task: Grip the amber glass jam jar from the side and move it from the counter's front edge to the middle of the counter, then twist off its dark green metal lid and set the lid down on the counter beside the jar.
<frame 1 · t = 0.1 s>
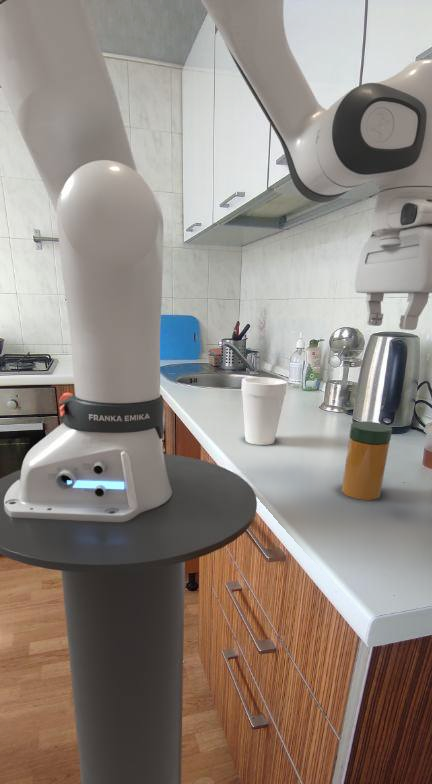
hand: (389, 327, 67), 26 cm above the countertop, tool pointing down, fingers open, 8 cm apart
lid: (371, 428, 72), point 11 cm above the countertop, screwed on, not yet turned
foam cup: (259, 441, 102), on the countertop
jar: (360, 492, 76), on the countertop
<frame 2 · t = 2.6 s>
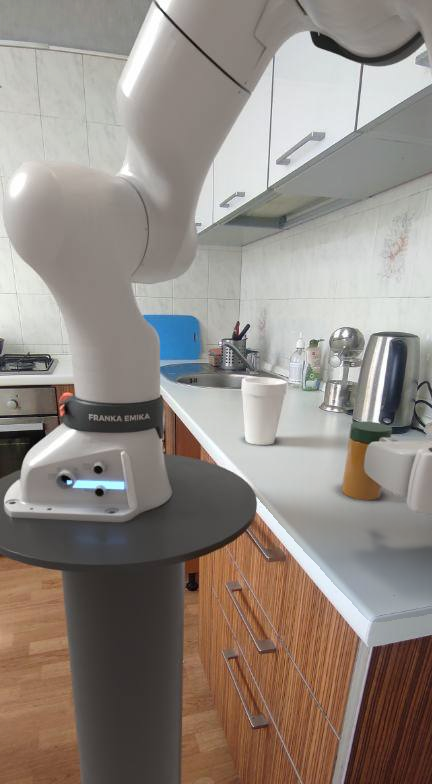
hand: (417, 442, 60), 12 cm above the countertop, tool horizontal, fingers open, 8 cm apart
nothing on the countertop moved.
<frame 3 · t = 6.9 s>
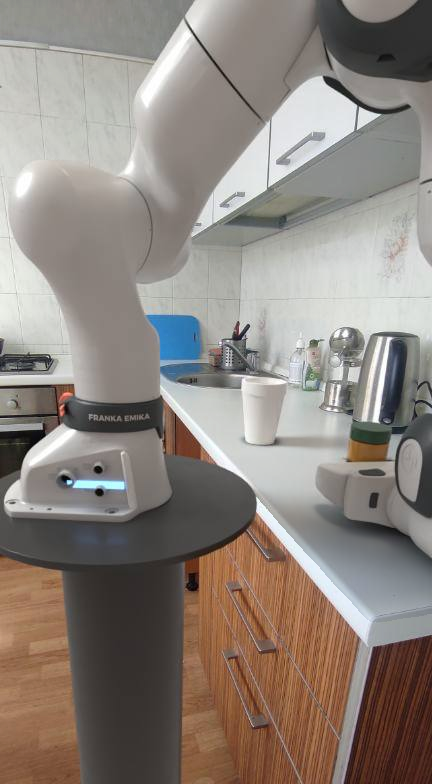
hand: (362, 461, 75), 5 cm above the countertop, tool horizontal, fingers closed on jar, 6 cm apart
jar: (360, 492, 76), on the countertop, touching gripper
everything else where it was.
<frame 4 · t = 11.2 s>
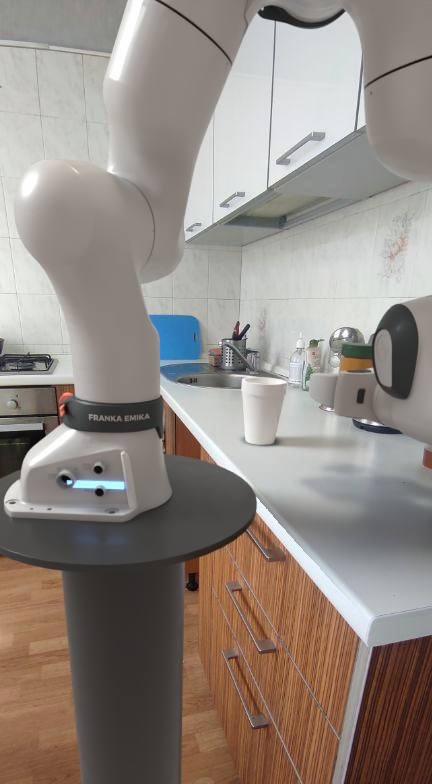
hand: (353, 380, 81), 16 cm above the countertop, tool horizontal, fingers closed on jar, 6 cm apart
lid: (360, 346, 78), point 22 cm above the countertop, screwed on, not yet turned
jar: (351, 409, 82), point 11 cm above the countertop, touching gripper
everything else where it was.
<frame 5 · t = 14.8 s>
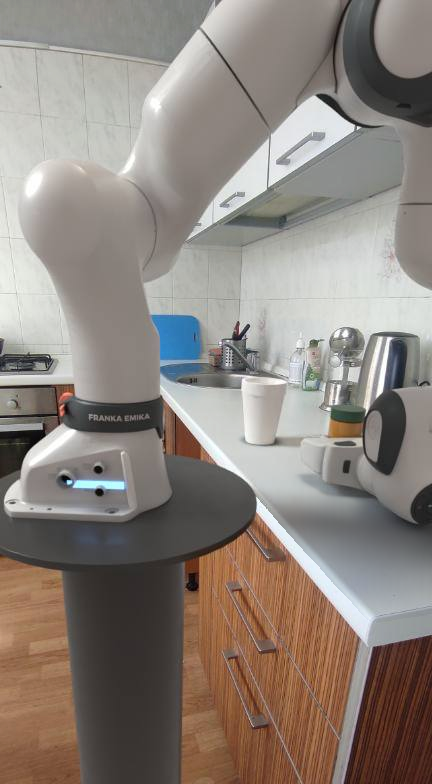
hand: (341, 439, 87), 5 cm above the countertop, tool horizontal, fingers closed on jar, 6 cm apart
lid: (348, 410, 84), point 11 cm above the countertop, screwed on, not yet turned
jar: (340, 466, 88), on the countertop, touching gripper
everything else where it was.
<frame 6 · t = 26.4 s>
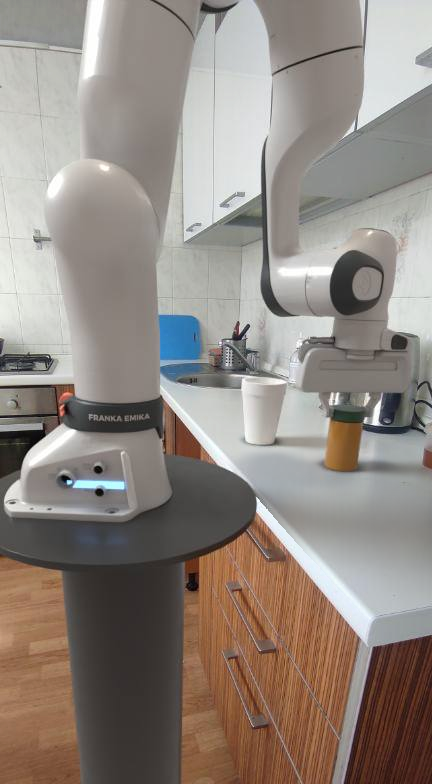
hand: (347, 416, 85), 9 cm above the countertop, tool pointing down, fingers closed on lid, 6 cm apart
lid: (348, 410, 84), point 11 cm above the countertop, screwed on, not yet turned, touching gripper
jar: (340, 465, 88), on the countertop
everything else where it was.
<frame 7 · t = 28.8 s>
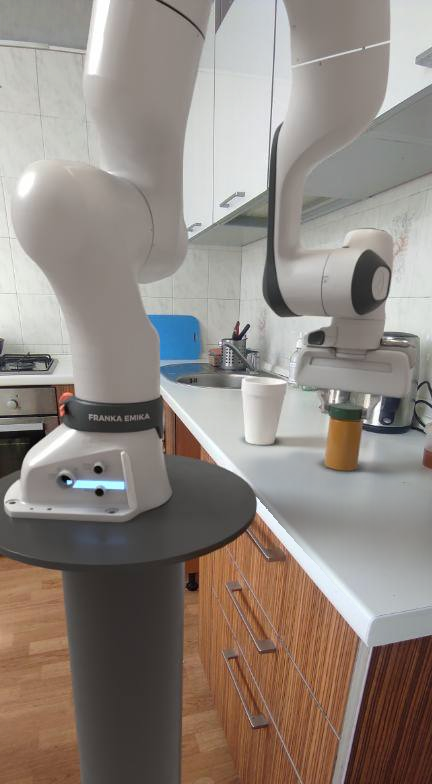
hand: (345, 416, 85), 9 cm above the countertop, tool pointing down, fingers closed on lid, 6 cm apart
lid: (346, 408, 84), point 11 cm above the countertop, off its thread, touching gripper
everything else where it was.
when the fingers open (0 cm above the countertop, at t = 35.7 s): lid stays where it is, point 1 cm above the countertop.
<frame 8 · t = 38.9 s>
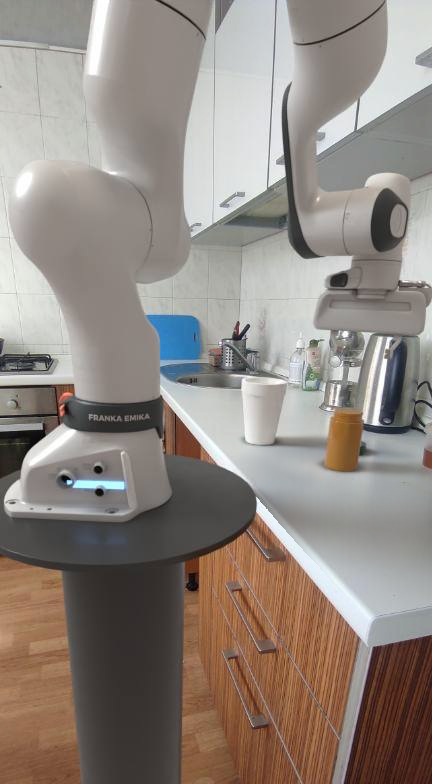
hand: (362, 357, 90), 19 cm above the countertop, tool pointing down, fingers open, 8 cm apart
lid: (350, 444, 97), point 1 cm above the countertop, off its thread
everything else where it was.
at the end: lid came off its thread; lid point 1.5 cm above the countertop; jar inside the target area (0.3 cm from its centre), on the countertop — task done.
